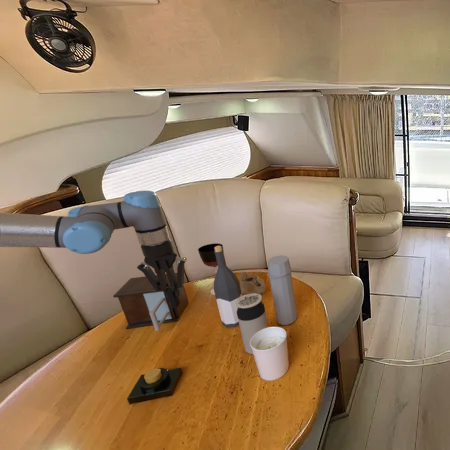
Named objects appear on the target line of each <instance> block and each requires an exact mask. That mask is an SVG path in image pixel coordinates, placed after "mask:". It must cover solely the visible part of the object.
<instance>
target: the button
mask: <svg viewBox="0 0 450 450" xmlns="http://www.w3.org/2000/svg"><path fill="white" fill-rule="evenodd" d="M158 368H159V367H158ZM158 368H157V367H156V368H152V369H149V370H148V371H147V372H146V373H144V374H145V375H144V379H145V381H146V383H148V384H149V383H153V382H156V381H158V380H159V379H160V378H161V377H162V374H161V371H160V369H158Z"/></svg>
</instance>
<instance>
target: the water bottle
mask: <svg viewBox="0 0 450 450" xmlns="http://www.w3.org/2000/svg"><path fill="white" fill-rule="evenodd" d="M267 268H268V272H267V273H266V276H267V277H268V278H269V283H270V289H271V294H272V300H273V307H274V313H275V318H276V322H277V323H278V324H279V325H281V326H287V325H288V326H289V325H291V324H294V322H295V321H296V320H297V318H298V311H297V305H296V297H295V291H294V283H293V277H292V272H291V271H292V267H291V263H290V260H289V257H288V256H287V255H283V254H282V255H275V256H272V257H270V258H269V259H268V261H267Z"/></svg>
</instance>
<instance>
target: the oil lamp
mask: <svg viewBox="0 0 450 450" xmlns="http://www.w3.org/2000/svg"><path fill="white" fill-rule="evenodd" d="M239 276H240V277H239V282H240V287H241V292H242V295H246V294H251V293H257V294H260V295H262V294H264V293H265V291H266V289H267V288H266V284H265V280H264V279H263V278H261V277H260V276H258V275H257V274H248V273H247V272H246V271H242V272H241V273H240V275H239Z"/></svg>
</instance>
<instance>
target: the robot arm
mask: <svg viewBox="0 0 450 450" xmlns="http://www.w3.org/2000/svg"><path fill="white" fill-rule="evenodd" d="M131 227H133V229H134V232H135V234H136V238H137V240H138V243H139V245H140V249H141V252H142V255H143V256H144V259H143V261H142V262H140V263H139V264H138V265H137V266H136V269H137V270H139V271H140V272H142V273H143V274H144V277H145V276H146V278H147V279H148V280H149V282H150V283H151V285H152V286H153V288H154V289H155V290H156V291H159V290H162V291H163V292H164V295H165V298H166V299H169V301H170V304H171V307H172V309H173V308H177V307H178V306H179V304H180V301H179V296H180V291H179V288H181V287H182V285H184V284H185V264H186V262H187V257H179V256H178V255H177V253H176V252H175V250H174V246H173V243H172V239H171V238H170V237H171V236H170V233H169V229H168V226H167V222H166V220H165V216H164V212H163V208H162V204H161V203H160V200H159V198H158V195H157V193H156V192H155V191H153V190H137V191H132V192H128V193H126V194H124V195H123V200H122V201H117V202H109V203H101V204H91V205H89V204H88V205H87V204H85V205H83V206H78V207H73V208H70V209H69V210H68V212H67V216H65V215H51V214H50V215H48V214H32V213H31V214H29V213H12V212H11V213H10V212H0V248H49V249H50V248H55V249H58V248H61V249H68V250H69V251H71V252H73V253H76V254H79V255H90V254H94V253H97V252H98V251H101V250H102V249H103V248H104V247H105V246H106V245H107V244H108V243H109V242H110V240H111V238H112V235H113V233H114V231H115V230H120V229H128V228H131ZM175 262H176V265H177V266H176V267H177V268H176V272H175V269H174V264H175ZM175 273H177V279H176V276H175ZM166 274H167V277H168V280H169V283H170V285H169V283H168V280H167V277H166ZM156 275H157V276H156ZM157 277H158V278H157ZM169 286H171V287H170V288H169Z"/></svg>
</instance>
